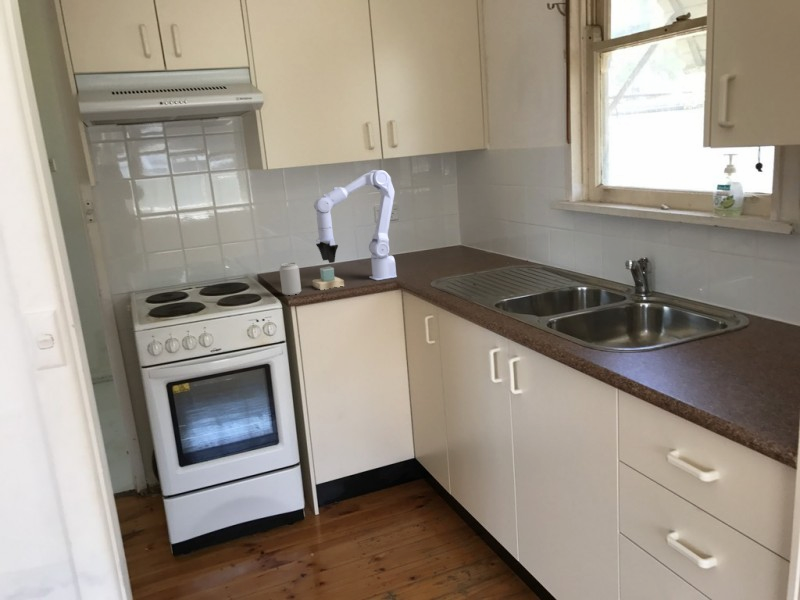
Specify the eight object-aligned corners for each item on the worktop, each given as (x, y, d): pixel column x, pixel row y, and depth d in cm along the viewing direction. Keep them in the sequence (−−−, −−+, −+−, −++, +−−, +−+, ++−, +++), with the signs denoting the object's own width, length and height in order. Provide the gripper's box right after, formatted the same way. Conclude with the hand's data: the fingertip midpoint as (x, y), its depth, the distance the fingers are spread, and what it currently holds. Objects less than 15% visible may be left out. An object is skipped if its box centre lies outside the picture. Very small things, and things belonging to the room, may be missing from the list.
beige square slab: (336, 283, 273) (335, 276, 273) (344, 287, 265) (343, 280, 264) (312, 287, 270) (312, 280, 269) (320, 291, 261) (319, 284, 260)
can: (283, 296, 254) (279, 266, 251) (281, 293, 261) (277, 263, 258) (302, 294, 256) (299, 263, 253) (300, 290, 263) (296, 260, 260)
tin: (331, 278, 269) (330, 266, 268) (335, 280, 265) (333, 267, 264) (321, 280, 268) (319, 267, 266) (324, 281, 264) (323, 269, 262)
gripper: (310, 227, 268) (313, 260, 271) (321, 230, 255) (325, 265, 258) (326, 225, 271) (329, 257, 274) (338, 228, 258) (342, 262, 261)
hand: (328, 261), depth 266 cm, fingers open, 7 cm apart
